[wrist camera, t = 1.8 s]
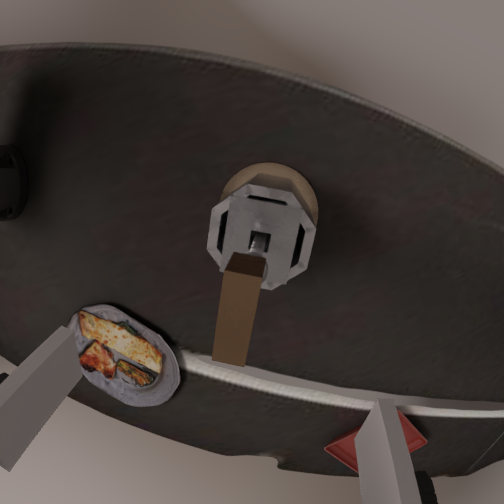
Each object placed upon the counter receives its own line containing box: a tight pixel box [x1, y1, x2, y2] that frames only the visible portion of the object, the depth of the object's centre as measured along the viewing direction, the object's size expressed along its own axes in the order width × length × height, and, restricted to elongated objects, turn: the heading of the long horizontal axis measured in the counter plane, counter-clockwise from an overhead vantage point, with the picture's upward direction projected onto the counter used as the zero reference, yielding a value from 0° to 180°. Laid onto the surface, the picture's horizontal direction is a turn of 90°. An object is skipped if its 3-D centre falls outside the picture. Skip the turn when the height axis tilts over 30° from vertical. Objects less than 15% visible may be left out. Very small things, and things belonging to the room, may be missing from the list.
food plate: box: [67, 304, 180, 407], centre depth 57 cm, size 25×23×4 cm
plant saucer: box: [324, 409, 428, 473], centre depth 58 cm, size 18×18×3 cm
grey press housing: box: [207, 162, 318, 299], centre depth 39 cm, size 14×15×15 cm
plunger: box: [212, 230, 271, 367], centre depth 27 cm, size 7×7×19 cm
